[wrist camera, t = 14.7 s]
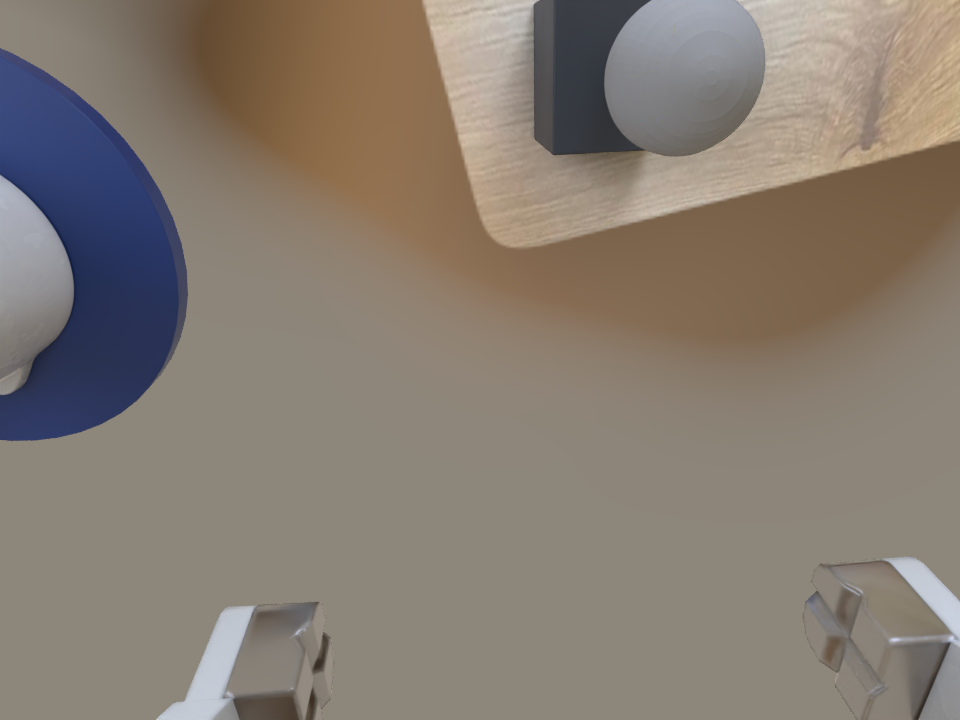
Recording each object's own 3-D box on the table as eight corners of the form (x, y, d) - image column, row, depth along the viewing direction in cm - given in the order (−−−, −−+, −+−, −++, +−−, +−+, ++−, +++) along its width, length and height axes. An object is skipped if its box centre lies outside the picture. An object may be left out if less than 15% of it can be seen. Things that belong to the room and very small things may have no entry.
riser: (534, 139, 36) (552, 155, 30) (533, 3, 33) (553, -11, 27) (651, 133, 37) (693, 147, 30) (661, -3, 33) (711, -18, 27)
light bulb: (710, 54, 28) (832, 49, 19) (636, 157, 30) (716, 197, 21) (618, -22, 27) (705, -64, 18) (547, 92, 29) (592, 105, 20)
